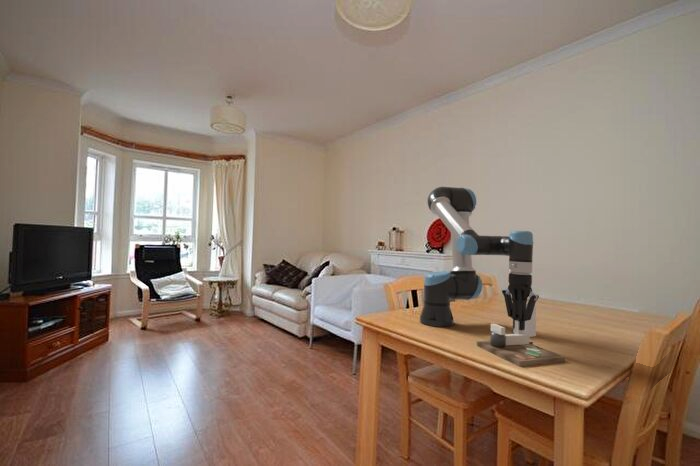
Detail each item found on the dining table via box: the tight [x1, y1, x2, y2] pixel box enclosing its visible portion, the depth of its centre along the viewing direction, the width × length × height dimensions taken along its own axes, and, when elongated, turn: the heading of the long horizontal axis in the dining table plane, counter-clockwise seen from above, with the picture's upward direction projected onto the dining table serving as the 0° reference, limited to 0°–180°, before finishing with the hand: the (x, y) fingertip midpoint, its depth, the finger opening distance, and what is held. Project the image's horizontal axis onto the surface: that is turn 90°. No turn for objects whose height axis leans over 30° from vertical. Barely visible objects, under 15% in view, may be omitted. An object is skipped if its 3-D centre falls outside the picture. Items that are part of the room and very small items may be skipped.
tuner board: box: [476, 339, 566, 367], centre depth 110 cm, size 20×18×2 cm
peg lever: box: [489, 323, 534, 347], centre depth 114 cm, size 16×6×7 cm, turn 102°
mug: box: [512, 303, 537, 338], centre depth 133 cm, size 12×8×12 cm
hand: (518, 338), depth 117 cm, fingers closed
